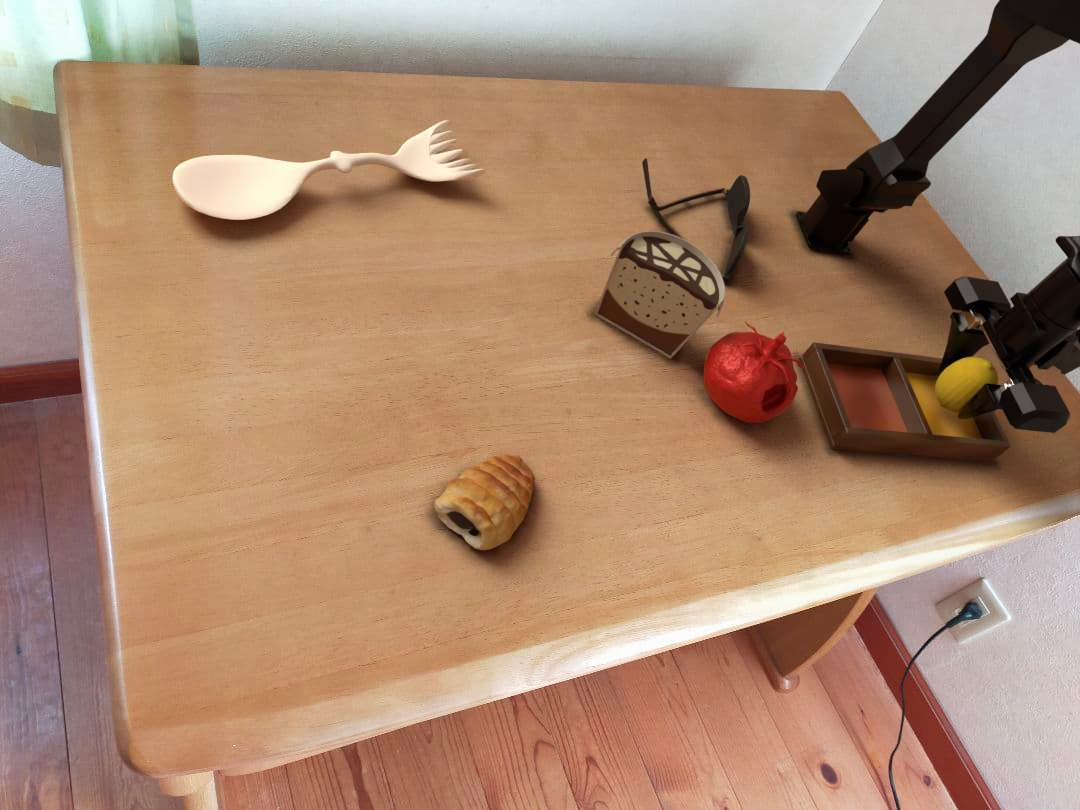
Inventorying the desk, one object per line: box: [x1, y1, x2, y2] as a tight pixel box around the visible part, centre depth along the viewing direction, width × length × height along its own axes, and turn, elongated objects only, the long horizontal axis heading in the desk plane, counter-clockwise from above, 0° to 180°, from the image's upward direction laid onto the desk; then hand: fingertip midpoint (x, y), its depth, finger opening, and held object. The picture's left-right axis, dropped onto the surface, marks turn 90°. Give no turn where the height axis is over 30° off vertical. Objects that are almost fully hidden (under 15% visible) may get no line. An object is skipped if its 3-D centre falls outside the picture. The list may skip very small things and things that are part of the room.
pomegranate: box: [703, 320, 804, 424], centre depth 90 cm, size 10×10×9 cm
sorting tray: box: [798, 341, 1012, 462], centre depth 99 cm, size 22×12×3 cm, turn 97°
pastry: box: [433, 454, 536, 551], centre depth 74 cm, size 9×7×4 cm
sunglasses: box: [641, 157, 751, 283], centre depth 106 cm, size 17×14×5 cm
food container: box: [594, 230, 726, 360], centre depth 91 cm, size 12×6×10 cm, turn 65°
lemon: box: [935, 356, 999, 413], centre depth 98 cm, size 6×6×8 cm
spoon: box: [172, 119, 486, 221], centre depth 91 cm, size 9×32×4 cm, turn 122°
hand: (951, 396), depth 99 cm, fingers closed on lemon, 5 cm apart
